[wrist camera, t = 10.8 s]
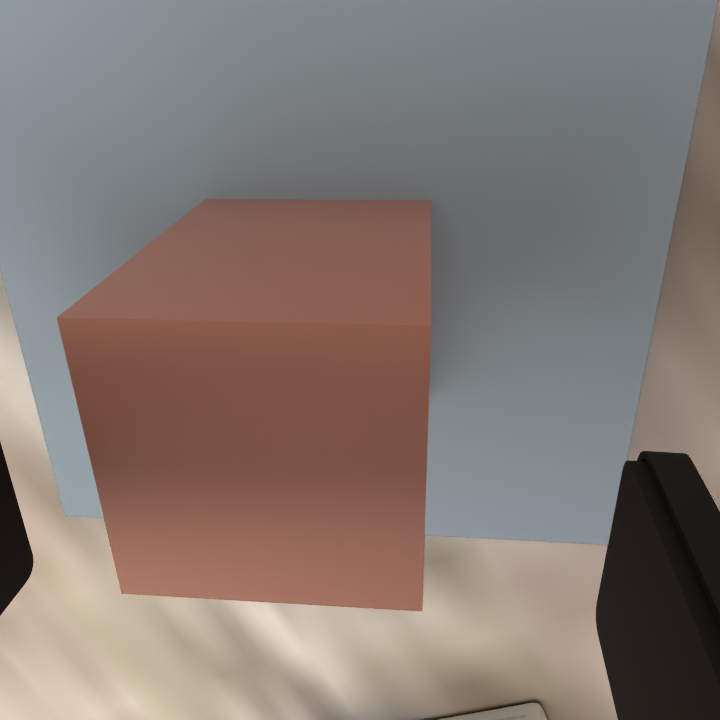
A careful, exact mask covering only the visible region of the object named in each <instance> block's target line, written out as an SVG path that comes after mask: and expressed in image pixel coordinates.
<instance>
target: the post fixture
mask: <svg viewBox="0 0 720 720" xmlns="http://www.w3.org/2000/svg"><path fill="white" fill-rule="evenodd" d="M717 3H718V0H0V269H1V273H2V277H3V281H4V285H5V288H6V292H7V296H8V300H9V304H10V308H11V311H12V315H13V319H14V323H15V327H16V331H17V334H18V338H19V342H20V346H21V350H22V353H23V357H24V361H25V365H26V369H27V373H28V376H29V380H30V384H31V388H32V392H33V396H34V399H35V403H36V407H37V411H38V415H39V419H40V422H41V426H42V430H43V434H44V438H45V442H46V445H47V449H48V453H49V457H50V461H51V464H52V468H53V472H54V476H55V480H56V484H57V487H58V491H59V495H60V499H61V503H62V507H63V510H64V514H65V516H72V517H91V518H104V516H103V512H102V508H101V504H100V499H99V495H98V491H97V487H96V482H95V478H94V474H93V470H92V466H91V461H90V457H89V453H88V449H87V444H86V440H85V436H84V432H83V427H82V423H81V419H80V415H79V411H78V406H77V402H76V398H75V394H74V389H73V385H72V381H71V377H70V372H69V368H68V364H67V360H66V356H65V351H64V347H63V343H62V339H61V334H60V330H59V326H58V322H57V317H58V316H59V315H60V314H62V313H63V312H64V311H65V310H67V309H68V308H69V307H70V306H72V305H73V304H74V303H75V302H77V301H78V300H79V299H80V298H82V297H83V296H84V295H85V294H87V293H88V292H89V291H90V290H92V289H93V288H94V287H96V286H97V285H98V284H99V283H101V282H102V281H103V280H104V279H106V278H107V277H108V276H109V275H111V274H112V273H113V272H114V271H116V270H117V269H118V268H119V267H121V266H122V265H123V264H124V263H126V262H127V261H128V260H129V259H131V258H132V257H133V256H134V255H136V254H137V253H138V252H139V251H141V250H142V249H143V248H144V247H146V246H147V245H148V244H149V243H151V242H152V241H153V240H154V239H156V238H157V237H158V236H159V235H161V234H162V233H163V232H164V231H166V230H167V229H168V228H169V227H171V226H172V225H173V224H174V223H176V222H177V221H178V220H179V219H181V218H182V217H183V216H184V215H186V214H187V213H188V212H190V211H191V210H192V209H193V208H195V207H196V206H197V205H198V204H200V203H201V202H202V201H203V200H205V199H295V200H431V353H430V384H429V416H428V447H427V479H426V510H425V535H429V536H447V537H466V538H485V539H504V540H522V541H541V542H560V543H579V544H597V545H608V543H609V537H610V532H611V527H612V522H613V517H614V511H615V506H616V501H617V496H618V490H619V485H620V480H621V475H622V470H623V466H624V464H625V462H626V461H627V457H628V452H629V447H630V442H631V437H632V432H633V427H634V421H635V416H636V411H637V406H638V401H639V396H640V391H641V386H642V381H643V376H644V371H645V366H646V361H647V356H648V351H649V346H650V341H651V336H652V331H653V326H654V321H655V316H656V311H657V306H658V300H659V295H660V290H661V285H662V280H663V275H664V270H665V265H666V260H667V255H668V250H669V245H670V240H671V235H672V230H673V225H674V220H675V215H676V210H677V205H678V200H679V195H680V190H681V185H682V180H683V174H684V169H685V164H686V159H687V154H688V149H689V144H690V139H691V134H692V129H693V124H694V119H695V114H696V109H697V104H698V99H699V94H700V89H701V84H702V79H703V74H704V69H705V64H706V59H707V54H708V48H709V43H710V38H711V33H712V28H713V23H714V18H715V13H716V8H717Z"/></svg>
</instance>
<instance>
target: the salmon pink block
mask: <svg viewBox="0 0 720 720" xmlns="http://www.w3.org/2000/svg"><path fill="white" fill-rule="evenodd" d="M57 322H58V326H59V330H60V334H61V339H62V343H63V347H64V351H65V356H66V360H67V364H68V368H69V372H70V377H71V381H72V385H73V389H74V394H75V398H76V402H77V406H78V411H79V415H80V419H81V423H82V427H83V432H84V436H85V440H86V444H87V449H88V453H89V457H90V461H91V466H92V470H93V474H94V478H95V482H96V487H97V491H98V495H99V499H100V504H101V508H102V512H103V516H104V521H105V525H106V529H107V533H108V537H109V542H110V546H111V550H112V554H113V559H114V563H115V567H116V571H117V575H118V580H119V584H120V588H121V592H122V594H137V595H154V596H171V597H188V598H205V599H222V600H239V601H256V602H273V603H290V604H307V605H324V606H341V607H358V608H375V609H392V610H409V611H422V604H423V573H424V541H425V510H426V479H427V447H428V416H429V384H430V353H431V200H295V199H205V200H203V201H202V202H201V203H200V204H198V205H197V206H196V207H195V208H193V209H192V210H191V211H190V212H188V213H187V214H186V215H184V216H183V217H182V218H181V219H179V220H178V221H177V222H176V223H174V224H173V225H172V226H171V227H169V228H168V229H167V230H166V231H164V232H163V233H162V234H161V235H159V236H158V237H157V238H156V239H154V240H153V241H152V242H151V243H149V244H148V245H147V246H146V247H144V248H143V249H142V250H141V251H139V252H138V253H137V254H136V255H134V256H133V257H132V258H131V259H129V260H128V261H127V262H126V263H124V264H123V265H122V266H121V267H119V268H118V269H117V270H116V271H114V272H113V273H112V274H111V275H109V276H108V277H107V278H106V279H104V280H103V281H102V282H101V283H99V284H98V285H97V286H96V287H94V288H93V289H92V290H90V291H89V292H88V293H87V294H85V295H84V296H83V297H82V298H80V299H79V300H78V301H77V302H75V303H74V304H73V305H72V306H70V307H69V308H68V309H67V310H65V311H64V312H63V313H62V314H60V315H59V316H58V317H57Z"/></svg>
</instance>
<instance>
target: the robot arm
mask: <svg viewBox="0 0 720 720" xmlns="http://www.w3.org/2000/svg"><path fill="white" fill-rule="evenodd" d="M32 568H33V554H32V551H31V547H30V544H29V540H28V537H27V533H26V530H25V526H24V523H23V519H22V516H21V512H20V509H19V506H18V502H17V499H16V495H15V492H14V488H13V485H12V481H11V478H10V474H9V471H8V467H7V464H6V460H5V457H4V453H3V450H2V446H1V443H0V615H1V614H2V613H3V611H4V610H5V609H6V607H7V606H8V605H9V604H10V602H11V601H12V600H13V598H14V597H15V596H16V595H17V593H18V592H19V591H20V589H21V588H22V587H23V586H24V584H25V583H26V582H27V580H28V578H29V577H30V574H31V572H32ZM596 624H597V631H598V636H599V640H600V645H601V649H602V653H603V658H604V662H605V666H606V670H607V675H608V679H609V683H610V687H611V692H612V696H613V700H614V704H615V709H616V713H617V717H618V720H720V511H719V510H718V508H717V506H716V504H715V502H714V500H713V499H712V497H711V495H710V493H709V491H708V489H707V488H706V486H705V484H704V482H703V480H702V478H701V477H700V475H699V473H698V471H697V469H696V467H695V466H694V464H693V462H692V460H691V458H690V457H689V456H688V455H687V454H684V453H668V452H651V451H643V452H641V453H640V455H639V457H638V460H637V461H626V462H625V464H624V466H623V470H622V475H621V480H620V485H619V490H618V496H617V501H616V506H615V511H614V517H613V522H612V527H611V532H610V537H609V543H608V548H607V553H606V558H605V563H604V569H603V574H602V579H601V584H600V590H599V595H598V600H597V606H596Z"/></svg>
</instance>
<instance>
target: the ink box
mask: <svg viewBox="0 0 720 720" xmlns="http://www.w3.org/2000/svg"><path fill="white" fill-rule="evenodd" d="M439 720H547V718H546V716H545V713H544V711H543V709H542V707H541V705H540V704H538V703H527V704H521V705H516V706H511V707H505V708H500V709H494V710H489V711H483V712H478V713H472V714H466V715H461V716H455V717H449V718H444V719H439Z"/></svg>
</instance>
